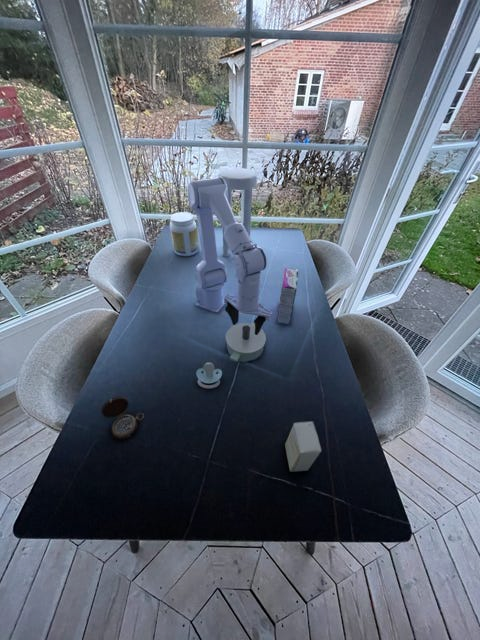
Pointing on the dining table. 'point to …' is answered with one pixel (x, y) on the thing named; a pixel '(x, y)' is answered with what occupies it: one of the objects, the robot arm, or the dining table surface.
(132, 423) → the compass
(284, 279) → the candy bar box
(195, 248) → the supplement tub
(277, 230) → the dining table surface
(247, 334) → the lid
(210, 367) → the pacifier
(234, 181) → the stool
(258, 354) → the grey-green ring with tabs
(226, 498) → the dining table surface
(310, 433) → the cosmetic box
